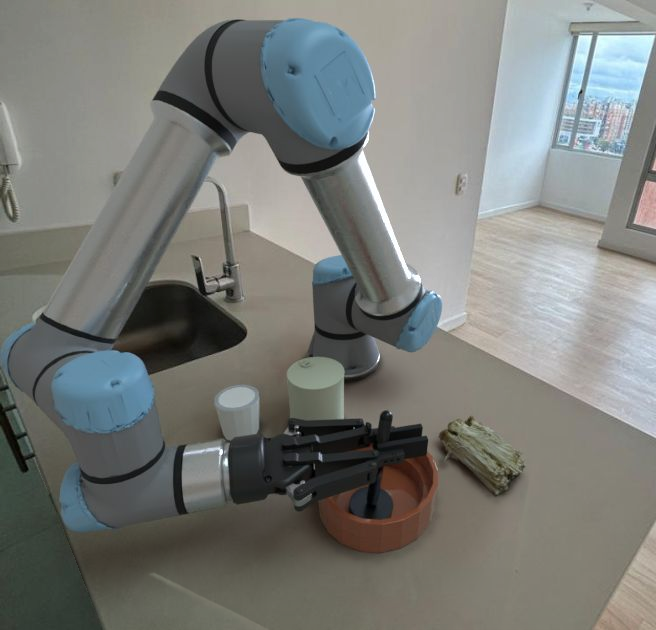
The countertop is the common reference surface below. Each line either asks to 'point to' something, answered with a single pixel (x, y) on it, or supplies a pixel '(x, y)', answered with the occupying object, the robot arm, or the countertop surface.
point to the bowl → (407, 515)
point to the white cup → (238, 410)
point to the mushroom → (482, 453)
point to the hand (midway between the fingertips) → (423, 439)
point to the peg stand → (373, 498)
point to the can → (316, 389)
